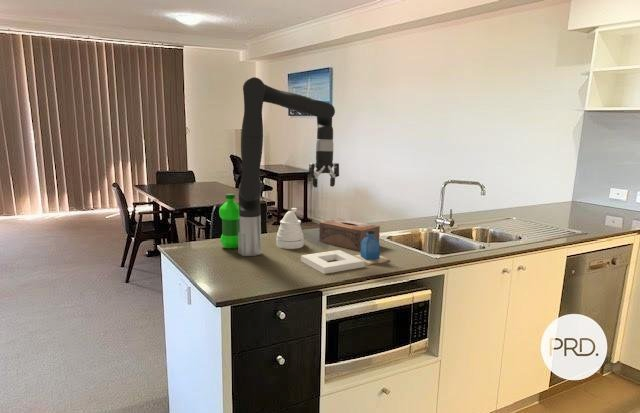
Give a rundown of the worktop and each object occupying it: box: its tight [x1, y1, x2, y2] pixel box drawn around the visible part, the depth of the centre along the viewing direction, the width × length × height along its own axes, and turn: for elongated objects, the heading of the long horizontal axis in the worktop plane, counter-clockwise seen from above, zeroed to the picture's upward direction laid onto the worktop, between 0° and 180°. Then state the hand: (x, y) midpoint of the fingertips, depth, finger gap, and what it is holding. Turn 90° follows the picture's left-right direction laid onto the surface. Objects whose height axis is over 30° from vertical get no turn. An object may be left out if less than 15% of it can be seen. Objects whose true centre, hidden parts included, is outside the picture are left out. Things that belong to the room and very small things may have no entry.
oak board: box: [353, 253, 391, 266], centre depth 191 cm, size 12×12×1 cm
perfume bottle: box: [360, 230, 381, 260], centre depth 190 cm, size 6×6×12 cm
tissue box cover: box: [318, 218, 381, 252], centre depth 216 cm, size 26×14×10 cm, turn 47°
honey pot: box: [276, 207, 304, 250], centre depth 211 cm, size 13×13×18 cm
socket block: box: [300, 249, 365, 275], centre depth 183 cm, size 19×19×2 cm
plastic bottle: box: [218, 193, 240, 249], centre depth 205 cm, size 10×10×25 cm
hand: (323, 186), depth 197 cm, fingers open, 8 cm apart
